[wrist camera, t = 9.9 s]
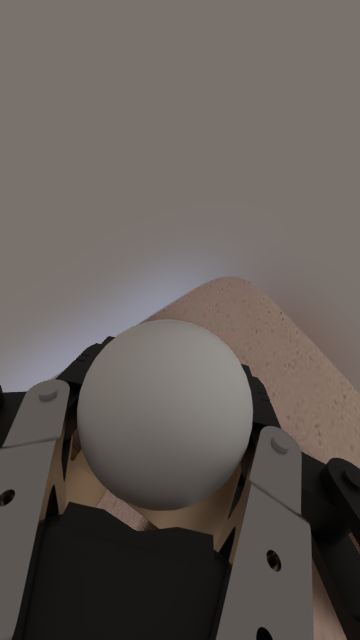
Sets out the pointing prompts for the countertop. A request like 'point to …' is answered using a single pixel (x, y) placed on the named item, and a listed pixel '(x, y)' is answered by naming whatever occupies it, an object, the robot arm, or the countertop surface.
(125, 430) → the lightbulb
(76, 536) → the robot arm
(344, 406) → the countertop surface
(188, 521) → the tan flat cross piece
